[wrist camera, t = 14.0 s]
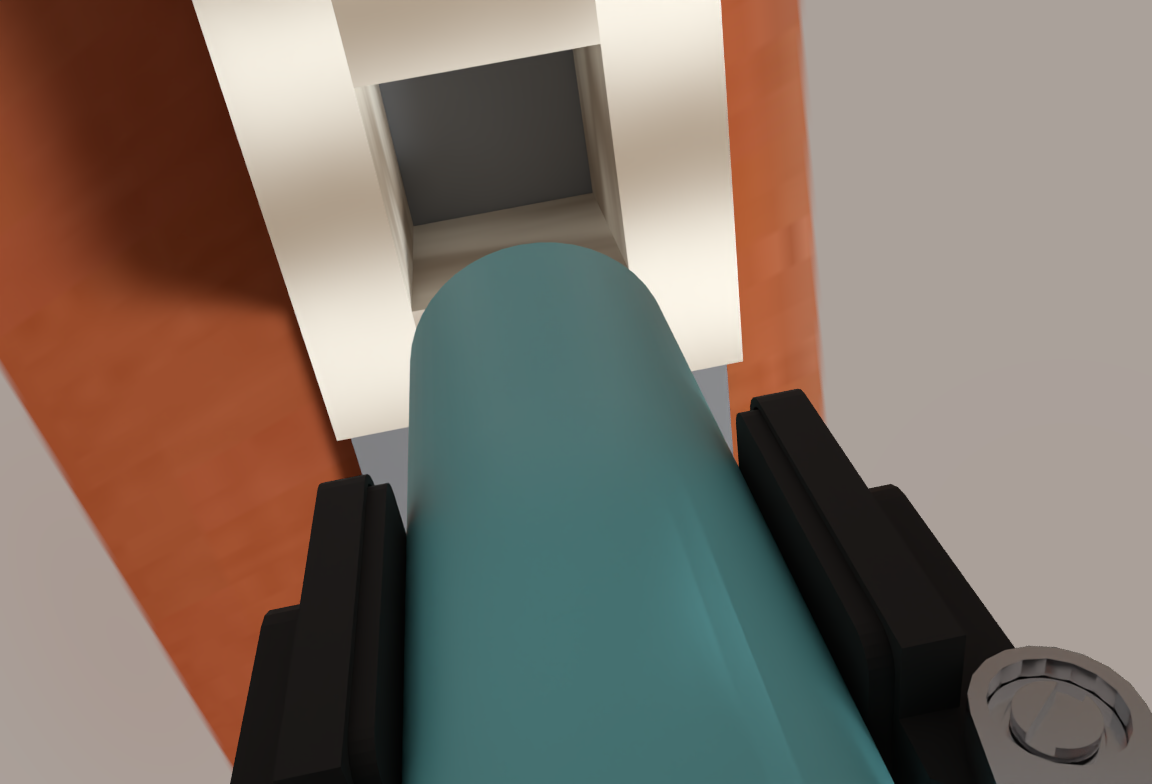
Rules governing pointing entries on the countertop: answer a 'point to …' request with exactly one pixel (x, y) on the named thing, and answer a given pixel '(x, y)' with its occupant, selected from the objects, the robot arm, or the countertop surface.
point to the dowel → (595, 555)
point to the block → (441, 249)
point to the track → (491, 180)
